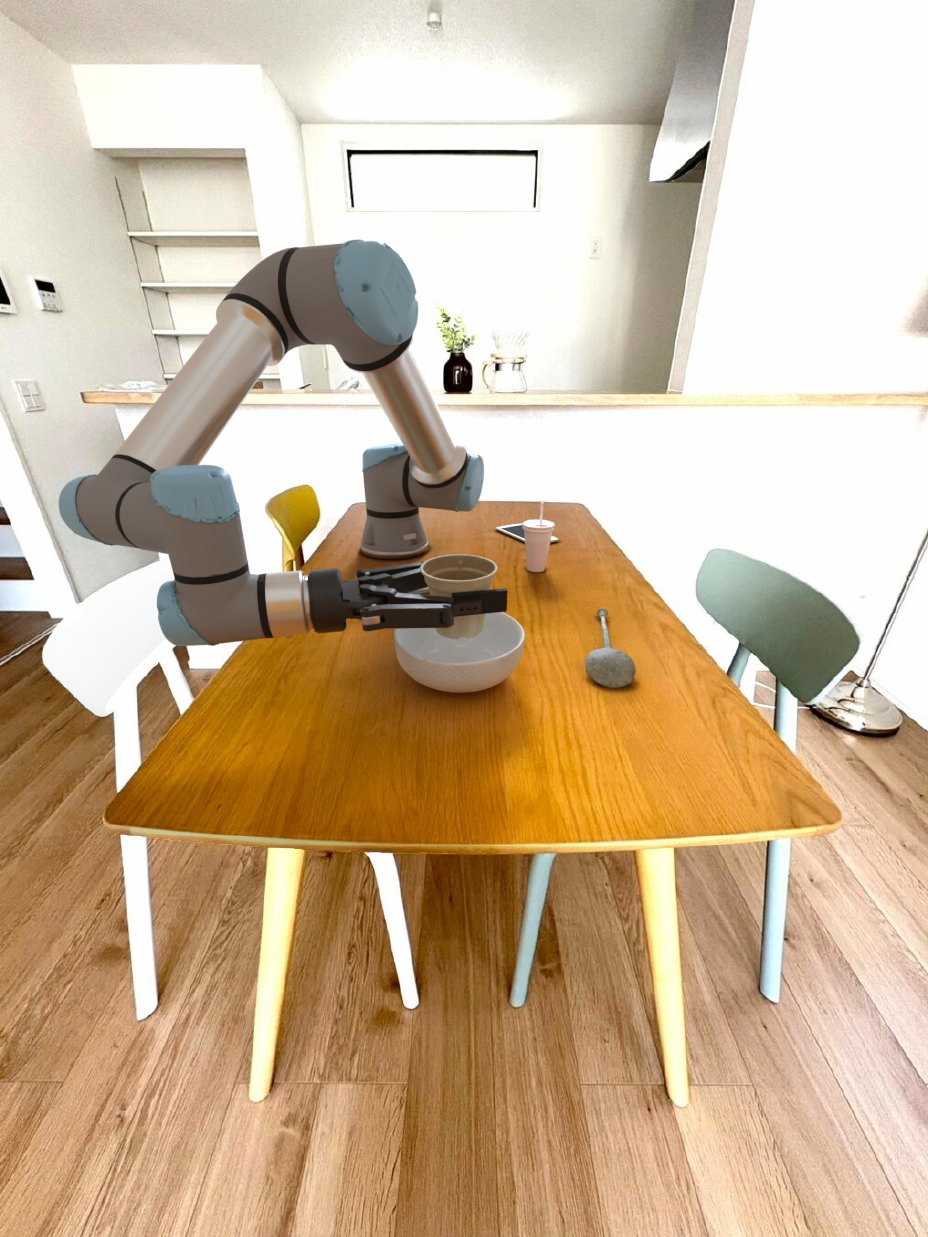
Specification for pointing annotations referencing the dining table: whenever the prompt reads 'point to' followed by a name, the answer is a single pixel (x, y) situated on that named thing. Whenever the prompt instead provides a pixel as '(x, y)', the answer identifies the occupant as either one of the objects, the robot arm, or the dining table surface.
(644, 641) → the dining table surface
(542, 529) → the smoothie
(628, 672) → the soupspoon
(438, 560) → the flower pot
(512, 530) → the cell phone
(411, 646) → the cereal bowl
